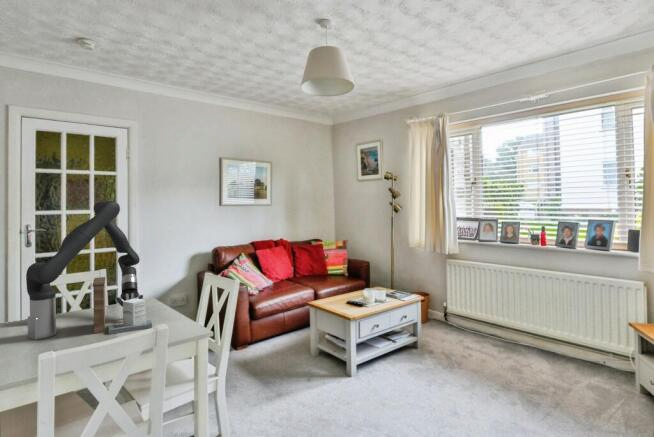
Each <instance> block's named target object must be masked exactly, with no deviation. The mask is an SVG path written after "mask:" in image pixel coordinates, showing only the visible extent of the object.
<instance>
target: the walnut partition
mask: <svg viewBox="0 0 654 437" xmlns="http://www.w3.org/2000/svg"><path fill="white" fill-rule="evenodd" d="M91 286H92V289H93V292H92V293H93V298H92V299H93V334H94V335H96V334H103V333H105V330H106V329H105V328H106V290H105V288H106V287H105V286H106V276H103V277H99V276H98V277H94V278H93V282H92V284H91Z"/></svg>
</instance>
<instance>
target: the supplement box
mask: <svg viewBox="0 0 654 437" xmlns="http://www.w3.org/2000/svg"><path fill="white" fill-rule="evenodd" d="M122 301H123V307H122V327H126V326H133V325H140V324H147V320H146V319H147V318H146V316H147V315H146V312H147V311H146V302H147V301H146V299H144V298H143V299H138V297H137V298H134V299H130V300H126V301H124V300H122Z"/></svg>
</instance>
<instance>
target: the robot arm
mask: <svg viewBox="0 0 654 437" xmlns="http://www.w3.org/2000/svg"><path fill="white" fill-rule="evenodd" d="M120 206H121V205H120V204H119V203H118V202H116V201H114V200H101V201H100V200H99V201H97V202H95V204H94V205H93V213H94V216H93V217H92V218H90V219H88V220H87V221H85V222H82V223H81V224H79V225H78V226H76V227H75V228H73V229H72V230H71V231H70V232H69V233H68V234H67V235H66V236H65V237H64V238H63V240H62V241H61V242H62V243H61V245H60V248H59V250H58V251H57V252H56V253H55V255H54V256H52V258H50V259H49V260H47V262H40V261H39V262H38V261H37V262H34V263H32V264H31V265H29V266H28V268H27V270H26V274H25V279H26V280H25V282H26V292H27V294H28V296H29V316H27V338H28V339H31V340H40V339H42V340H43V339H47V338H50V337H53V336H55V335H56V334H57V310H56V309H57V306H56V305H57V299H56V294H57V293H56V290H55V289H54V288H53V287H52V285H51V283H53V282H54V281H56V280H57V279H58V278H59V276H60V275H61V274H62V273H63V272H64V270H65V269H66V268H67V267H68V265H69V264H70V263H71V262H72V261H73V260H74V259H75V258H76V257H77V256H78V255H79V254H80V252H81V251H82V250H84V248H86V247H87V246H88V244H90V242H91V241H92V240H93V239H94V238H95V237H96V236H97V235H98V234H99V233H100V232H101V231H102V230H103V229H104V230H106V233H107V234H108V236H109V237H110V240H111V241H112V244H113V246H114V248H115V250H116V252H117V253H119V254H123V255H120V256H119V257H118V259H117V263H118V265H119V268H120V270H121V282H120V283H121V294H120V296H119V297H116V298H115V301H116V303H117V304H118V305H119V306H121V307H122V308H123V301H126V300H130V299H134V298H137V299H143V300H144V295H143V294H140V293H139V291H138V290H139V288H138V278H137V277H138V276H137V269H136V267H134V266H136V265H138V264H139V263H140V256H139V254H138V253H137V252H136V251H135V250H134V248H133V247H132V246H131V245H130V242H129V240H128V238H127V236H126V234H125V233H124V232H123V231H122V230H121V228H120V227H119V226H118V225H117V224H116V222H115V221H114V219H115V218H116V217H118V216H119V213H120V212H121V207H120Z"/></svg>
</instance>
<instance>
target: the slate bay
mask: <svg viewBox="0 0 654 437" xmlns="http://www.w3.org/2000/svg"><path fill="white" fill-rule="evenodd" d="M148 328H149V329H152V328H153V321H152V320H151V319H149V320H146V324H140V325H133V326H126V327H123V326H120V327H115V324H111V325H108V335H114V334H122V333H128V332H134V331H135V332H136V331H141V330H142V331H143V330H149V329H148Z"/></svg>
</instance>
